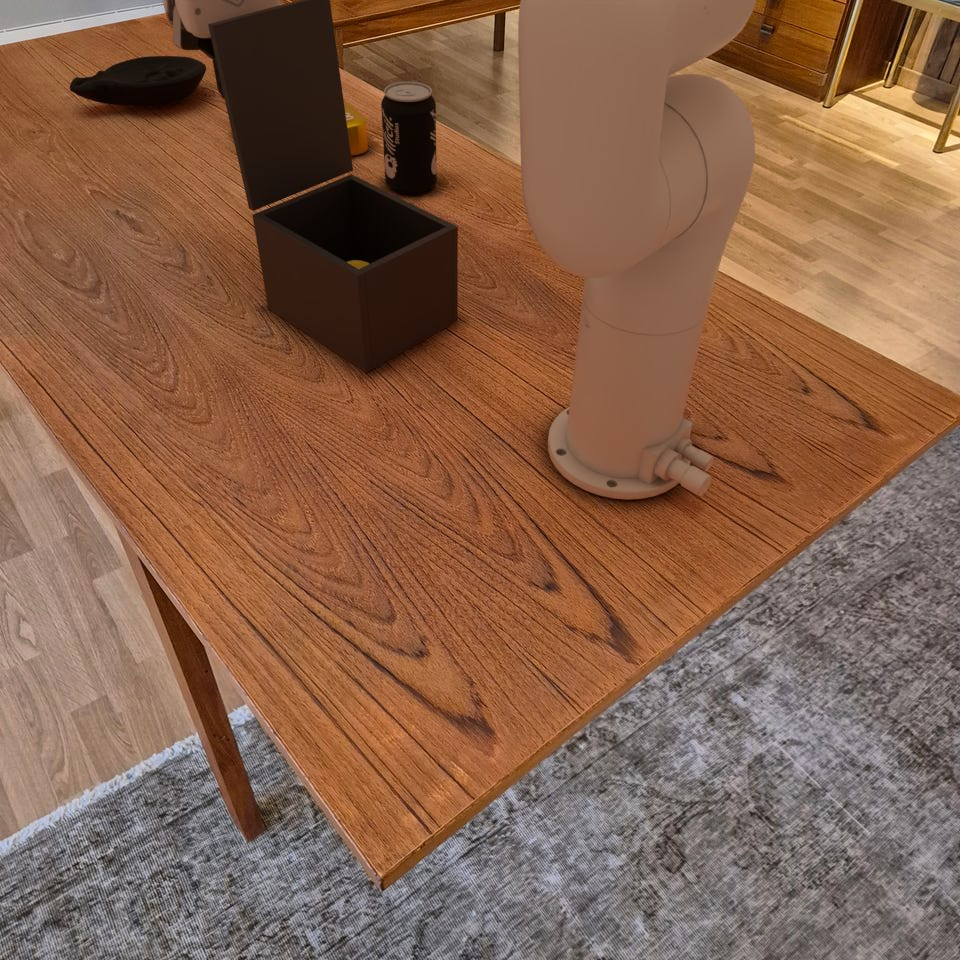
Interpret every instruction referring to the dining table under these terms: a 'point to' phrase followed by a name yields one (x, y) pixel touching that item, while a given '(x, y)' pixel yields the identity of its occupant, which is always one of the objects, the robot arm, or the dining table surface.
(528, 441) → the dining table surface
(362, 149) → the element tile
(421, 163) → the beverage can
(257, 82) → the lid
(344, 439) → the dining table surface
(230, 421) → the dining table surface
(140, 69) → the oil lamp
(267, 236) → the dark open storage box
